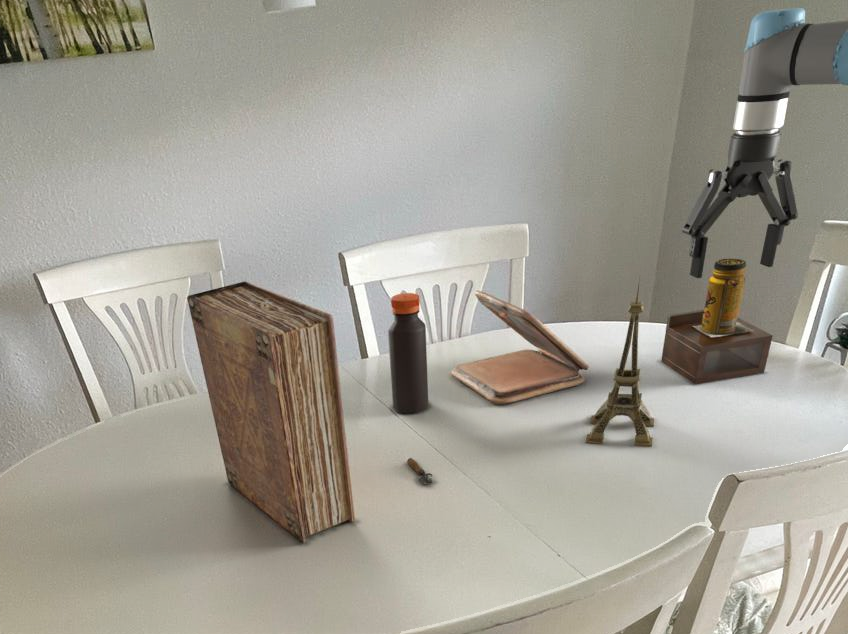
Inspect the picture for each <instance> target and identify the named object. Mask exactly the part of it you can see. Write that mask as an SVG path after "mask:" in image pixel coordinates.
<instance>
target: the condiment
mask: <svg viewBox="0 0 848 634" xmlns="http://www.w3.org/2000/svg"><path fill="white" fill-rule="evenodd" d="M746 262H747V261H745V260H744V259H740V258H721V259H718V260H716V261H715V262H714V265H713V271H712V275H711V277H709V282H708V284H707V285H708V286H707V291H706V292H707V294H706V297H705V304H704V308H703V310H704V313H703V319H702V325H699V326H693V327H694V328H696V329H697V330H699V331H700V332H702V333H704V334H706V335H708V336H710V337H711V338H712V337H721V336H728V335H732V334H736V333H745V332H749V331H754V330H751V329H749V328H747V327H745V326H743V325H741V324H740V323H737V319H738V318H739V313H740V309H741V303H742V300H743V293H744V289H745V285H746V277H745V274H746V267H747V263H746Z"/></svg>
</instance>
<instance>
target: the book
mask: <svg viewBox="0 0 848 634" xmlns="http://www.w3.org/2000/svg"><path fill="white" fill-rule="evenodd" d="M186 299H187V303H188V304H187V305H188V309H189V312H190V316H191V322H192V326H193V330H194V336H195V339H196V344H197V348H198V354H199V357H200V361H201V362H200V363H201V367H202V371H203V376H204V379H205V385H206V388H207V392H208V398H209V402H210V406H211V410H212V416H213V420H214V424H215V429H216V433H217V438H218V442H219V447H220V450H221V456H222V460H223V464H224V470H225V473H226V478H227V482H228V484H229V485H230V486H232V487H233V488H234V489H235V490H236V491H237V492H238V493H240V494H241V495H243V497H245V498H247V500H249V501H250V502H251V503H252V504H253V505H254V506H256V507H257V508H258V509H259V510H261V511H262V512H263V513H264V514H266V515H267V516H268V517H269V518H270V519H271V520H273V521H274V522H275V523H277V524H278V525H279V526H280V527H281V528H283V529H284V530H285V531H286V532H287V533H289V534H290V535H291V536H292V537H293V538H295V540H297V541H298V542H300V543H301V544H302V545H304V544H306V542H307V540H306V538H307V537H308V538H309V537H310V536H313V535H315V534H317V533H320V532H323V531H324V530H328V529H330V528H332V527H334V526H337V525H340V524H343V523H344V522H347V521H348V522H350V523H354V522H355V521H356V519H355V518H356V517H355V510H354V508H355V507H354V499H353V491H352V481H351V471H350V462H349V453H348V445H347V436H346V435H347V433H346V426H345V425H346V424H345V417H344V416H345V415H344V408H343V399H342V398H343V397H342V388H341V380H340V379H341V378H340V370H339V361H338V353H337V352H338V351H337V342H336V333H335V323H334V318H333V315H332V314H331V313H328V312H326V311H323V310H320V309H318V308H316V307H312V306H310V305H308V304H305V303H302V302H300V301H297V300H294V299H292V298H289V297H287V296H284V295H281V294H279V293H276V292H274V291H271V290H269V289H267V288H264V287H261V286H258V285H256V284H253V283H250V282H248V281H240V282H236V283H233V284H229V285H225V286H220V287H217V288H213V289H210V290H206V291H202V292H197V293H194V294H190V295H188V296H187V297H186Z"/></svg>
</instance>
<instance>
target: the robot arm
mask: <svg viewBox="0 0 848 634" xmlns="http://www.w3.org/2000/svg"><path fill="white" fill-rule="evenodd" d="M745 44H746V45H745V47H744V49H743V50H744V51H743V52H744V56H743V63H742V69H741V76H740V83H739V90H738V95H737V98H736V106H735V113H734V118H733V124H732V130H734V131H735V132H734V133H733V134H732V135H731V136H730V140H729V141H730V142H729V146H728V153H727V166H726V168H725V170H717V169H714V168H713V169H709V171H708V173H707V175H706V179H705V184H704V186H703V188H702V190H701V191H700V194H699V196H698V197H697V199H696V201H695V203H694V205H693V207H692V209H691V210H690V213H689V214H688V216H687V218H686V220H685V222H684V223H683V225H682V228H681V232H682V233H683V234H686V235H688V236H690V237H691V239H690V245H689V251H688V254H689V257H690V258H691V265H690V271H689V276H691V277H693V278H696V279H701V278H703V273H704V272H703V271H704V266H705V261H706V260H705V259H706V254H707V247H708V242H709V241H708V240H709V237H708V236H705V235H706V234H707V233H708V231H709V230H710V229H711V228H712V226H713V225H714V223H716V221H717V220H718V219H719V218H720V216H722V214H723V212H724V211H725V210H726V209H727V207H728V206H729V205H730V203H733V202H734V201H735V200H736V198H739V199H740V198H745V197H748V196H752V197H754V196H758V197H759V199H760V201H761V203H762V205H763V206H764V208H765V210H766V211H767V213H768V215H769V218H770V219H771V221H772V222H773V223H768V224H767V227H766V232H765V237H764V242H763V246H762V252H761V255H760V262H759V264H760V265H762V266H764V267H766V268H773V266H774V262H775V259H776V258H775V257H776V252H777V248H778V246H779V245H781V244H782V240H783V236H784V232H785V227H788V226H789V225H790V224H791V221H794V220H796V219H798V217H799V210H798V206H797V200H796V195H795V191H794V186H793V182H792V181H793V180H792V176H791V175H792V166H793V163H792V161H791V160H787V159H778V160H777V162H775V158H776V157H777V156H778V153H779V149H780V144H781V143H780V142H781V138H782V133H781V130H779V129H781V128H782V127H783V126H784V125H785V119H786V113H787V107H788V103H789V99H790V92H791V87H792V86H801V85H805V86H807V85H811V86H813V85H814V86H815V85H842V86H848V20H839V21H829V22H822V23H820V22H819V23H809V22H808V23H807V22H806V10H805V9H804V8H802V7H796V8H783V9H773V10H765V11H761V12H758V13H757V14H755V16H754V17H753V18H752V19H751V22H750V25H749V31H748V36H747V40H746V43H745ZM773 175H774V177H775V184H776V189H777V193H778V197H779V201H778V198H777V197H776V195H775V193H774V189H773V187H772V184H771V183H770V179H771V178H772V176H773ZM724 182H725V184H724V185H723V183H724ZM721 185H723V186H722V188H721V189H720V186H721ZM719 189H720V190H719ZM718 191H719V192H718ZM716 195H717V197H716V198H715V196H716Z"/></svg>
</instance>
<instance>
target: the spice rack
mask: <svg viewBox="0 0 848 634" xmlns="http://www.w3.org/2000/svg"><path fill="white" fill-rule="evenodd" d="M703 313H704V309H699V310H692V311H686V312H679V313H673V314H668V315H667V318H666V319H667V321H666V327H665V334H664V341H663V347H662V352H661V353H662V354H661V359H660V363H663V364H664V365H665V366H666V367H668V368H670V369H671V370H672V371H674V372H676V373H677V374H678V375H680V376H681V377H683V378H684V379H686V380H687V381H689V382H690V383H692V384H693V385H699V384H705V383H712V382H718V381H723V380H724V381H725V380H730V379H736V378H743V377H748V376H754V375H760V374H765V370H766V366H767V361H768V358H769V353H770V348H771V345H772V340H773V336H774V335H773V334H771V333H769V332H767V331H765V330H764V329H762V328H760V327H758V326H756V325H754V324H751V323H750V322H748V321H745V320H743V319H742V318H739V317H738V319H737V323H740V324H741V325H743V326H745V327H747V328H749V329H751V330H754V331H749V332H745V333H736V334H732V335H728V336H721V337H712V338H711V337H710V336H708V335H706V334H704V333H702V332H700V331H699V330H697V329H696V328H694V327H693V326H699V325H702V319H703Z"/></svg>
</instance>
